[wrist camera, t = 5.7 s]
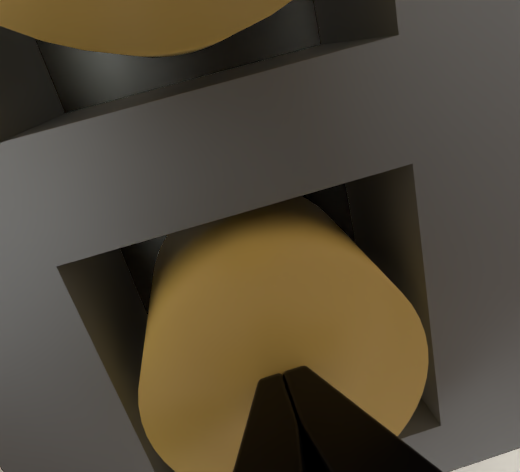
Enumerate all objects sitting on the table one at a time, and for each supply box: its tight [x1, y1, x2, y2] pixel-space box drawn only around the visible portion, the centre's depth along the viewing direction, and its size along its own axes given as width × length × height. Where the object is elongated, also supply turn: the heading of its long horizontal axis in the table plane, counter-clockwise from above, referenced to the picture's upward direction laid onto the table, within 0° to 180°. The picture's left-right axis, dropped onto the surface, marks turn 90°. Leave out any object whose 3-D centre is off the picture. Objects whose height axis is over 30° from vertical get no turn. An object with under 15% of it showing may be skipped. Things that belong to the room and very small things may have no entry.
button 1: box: [138, 196, 429, 472], centre depth 9 cm, size 5×5×4 cm
